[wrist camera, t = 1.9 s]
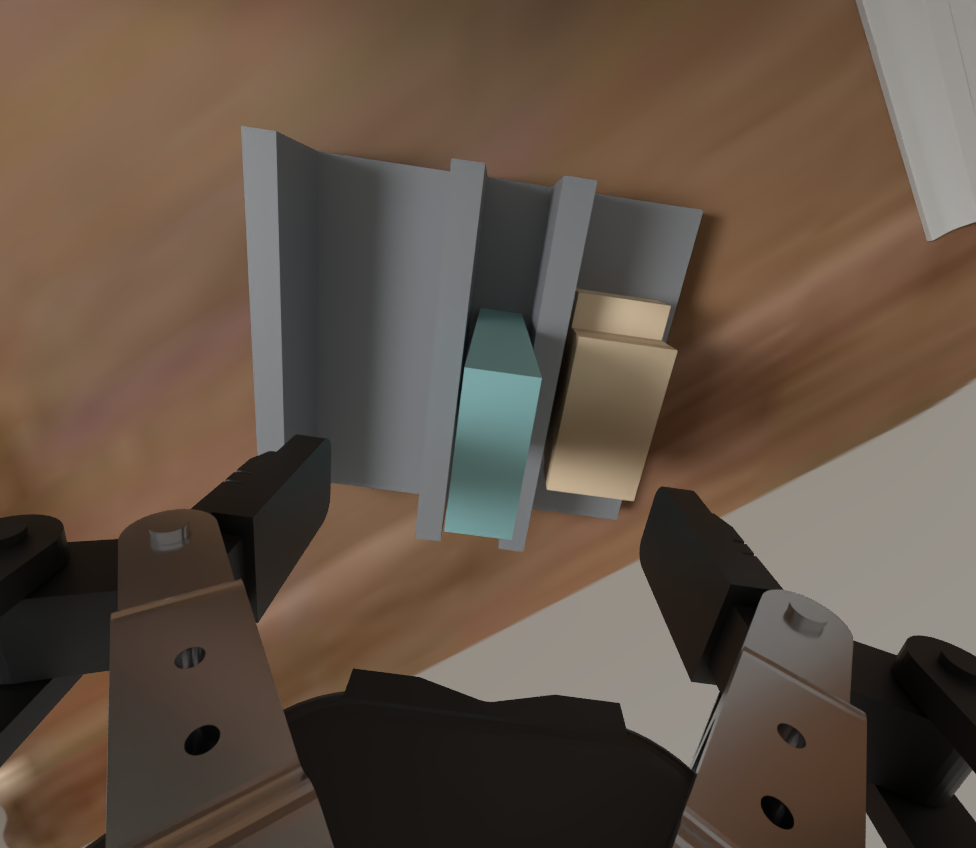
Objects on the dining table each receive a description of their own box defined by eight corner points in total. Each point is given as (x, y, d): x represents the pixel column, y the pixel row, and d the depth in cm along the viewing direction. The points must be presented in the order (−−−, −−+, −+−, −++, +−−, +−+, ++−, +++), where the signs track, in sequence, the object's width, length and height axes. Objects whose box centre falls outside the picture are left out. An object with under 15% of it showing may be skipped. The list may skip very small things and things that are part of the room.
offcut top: (571, 327, 20) (579, 336, 19) (661, 340, 21) (677, 350, 19) (542, 469, 23) (546, 489, 21) (622, 480, 23) (633, 501, 21)
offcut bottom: (572, 287, 22) (578, 292, 20) (656, 299, 22) (671, 305, 20) (541, 443, 25) (544, 460, 23) (615, 453, 25) (625, 471, 23)
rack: (292, 151, 21) (226, 123, 16) (690, 211, 22) (749, 203, 17) (297, 464, 27) (250, 517, 22) (610, 505, 28) (636, 566, 23)
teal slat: (480, 307, 22) (464, 367, 12) (522, 313, 22) (541, 378, 12) (467, 406, 24) (444, 531, 14) (506, 411, 24) (511, 540, 14)
